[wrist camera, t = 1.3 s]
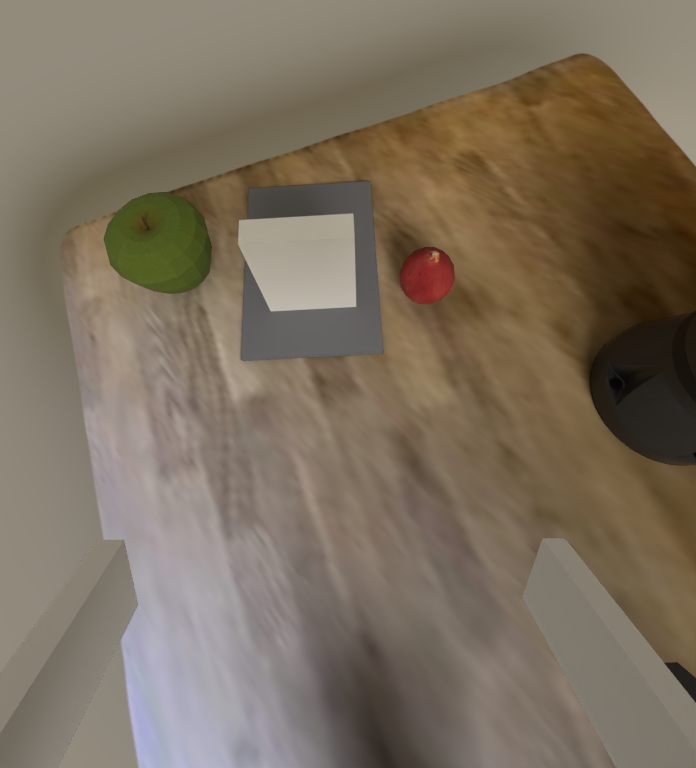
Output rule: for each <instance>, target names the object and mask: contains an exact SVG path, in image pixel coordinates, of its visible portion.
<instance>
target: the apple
mask: <svg viewBox="0 0 696 768" xmlns="http://www.w3.org/2000/svg"><path fill="white" fill-rule="evenodd" d="M104 242H105V246H106V250H107V254H108V257H109V261H110V265H111V266H112V267H113V268H114V269H115V270H116V271H117V272H118V273H119V274H120V275H121V277H123V278H125V279H127V280H129V281H131V282H133V283H135V284H137V285H140V286H142V287H145V288H147V289H150V290H153V291H157V292H163V293H168V294H171V293H183V292H186V291H189V290H192V289H194V288H195V287H196V286H198V285H199V284H201V283H202V282H203V281H204V279H205V278H206V276H207V275H208V273H209V269H210V259H211V248H212V246H211V242H210V239H209V235H208V232H207V228H206V224H205V221H204V217H203V215H202V214H201V213H200V212H199V211H198V210H197V209H196V208H195V207H194V206H193V205H192V204H191V203H189V202H188V201H186V200H185V199H183V198H182V197H179V196H176V195H173V194H170V193H168V192H159V193H148V194H146V195H143V196H140V197H138V198H135V199H132V200H131V201H130V202H128V203H127V204H126V205H125V206H123V207H122V208H121V209H120V210H119V211H118V212H117V213H116V214H115V216H114V217H113V218H112V220H111V221H110V222H109V224H108V226H107V229H106V233H105V236H104Z"/></svg>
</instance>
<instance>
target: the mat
mask: <svg viewBox="0 0 696 768" xmlns="http://www.w3.org/2000/svg"><path fill="white" fill-rule="evenodd" d="M352 213H353V217H354V235H355V274H356V307H345V308H326V309H308V310H289V311H270V309H269V307H268V305H267V303H266V301H265V299H264V297H263V294H262V292H261V290H260V288H259V286H258V284H257V282H256V280H255V278H254V276H253V274H252V272H251V270H250V268H249V266H248V264H247V262H246V260H245V281H244V302H243V324H242V345H241V360H242V361H250V360H269V359H289V358H308V357H328V356H347V355H367V354H383V342H382V329H381V316H380V302H379V289H378V276H377V262H376V249H375V236H374V222H373V209H372V196H371V183H370V181H361V182H345V183H328V184H312V185H295V186H279V187H262V188H249V194H248V216H247V220H250V219H267V218H284V217H301V216H318V215H335V214H352Z"/></svg>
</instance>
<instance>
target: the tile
mask: <svg viewBox="0 0 696 768" xmlns="http://www.w3.org/2000/svg"><path fill="white" fill-rule="evenodd" d="M238 245H239V247H240V249H241V252H242V254H243V256H244V258H245V260H246V262H247V264H248V266H249V268H250V270H251V272H252V274H253V276H254V278H255V280H256V282H257V284H258V286H259V288H260V290H261V292H262V294H263V297H264V299H265V301H266V303H267V305H268V307H269V309H270V311H289V310H308V309H326V308H345V307H356V274H355V235H354V217H353V213H352V214H335V215H318V216H301V217H284V218H267V219H250V220H239V234H238Z"/></svg>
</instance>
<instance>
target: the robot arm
mask: <svg viewBox="0 0 696 768" xmlns="http://www.w3.org/2000/svg"><path fill="white" fill-rule="evenodd" d="M591 390H592V395H593V399H594V403H595V405H596V408H597V410H598V412H599V414H600V416H601V418H602V419H603V421H604V422H605V424H606V425H607V427H608V428H609V429H610V430H611V431H612V433H613V434H614V435H615V436H616V437H617V438H618V439H619V440H620V441H622V442H623V443H624V444H625V445H627V446H628V447H629V448H631V449H632V450H634V451H635V452H637V453H639V454H641V455H643V456H645V457H647V458H649V459H652V460H654V461H657V462H661V463H665V464H670V465H680V466H687V465H696V311H695V312H693V313H688V314H683V315H678V316H673V317H668V318H663V319H658V320H653V321H648V322H644V323H641V324H638V325H635V326H633V327H631V328H629V329H627V330H625V331H624V332H622V333H621V334H619V335H617V336H616V337H614V338H613V339H611V340H610V341H609V342H608V343H606V344H605V345H604V347H603V348H602V349H601V350H600V352H599V353H598V355H597V357H596V359H595V361H594V364H593V367H592V372H591ZM522 598H523V600H524V601H525V603H526V605H527V607H528V609H529V611H530V612H531V614H532V616H533V618H534V620H535V621H536V623H537V625H538V627H539V629H540V630H541V632H542V634H543V636H544V638H545V640H546V641H547V643H548V645H549V647H550V649H551V650H552V652H553V654H554V656H555V658H556V659H557V661H558V663H559V665H560V667H561V669H562V670H563V672H564V674H565V676H566V678H567V679H568V681H569V683H570V685H571V687H572V688H573V690H574V692H575V694H576V696H577V698H578V699H579V701H580V703H581V705H582V707H583V708H584V710H585V712H586V714H587V716H588V717H589V719H590V721H591V723H592V725H593V727H594V728H595V730H596V732H597V734H598V736H599V737H600V739H601V741H602V743H603V745H604V747H605V748H606V750H607V752H608V754H609V756H610V757H611V759H612V761H613V763H614V765H615V766H616V768H696V678H695V677H694V676H693V675H692V674H690V673H689V672H688V671H687V670H686V669H684V668H683V667H682V666H681V665H680V664H679V663H677V662H675V663H664V662H663V661H662V660H661V659H660V657H659V656H658V655H657V654H656V652H655V651H654V650H653V649H652V647H651V646H650V645H649V644H648V642H647V641H646V640H645V639H644V637H643V636H642V635H641V634H640V632H639V631H638V630H637V628H636V627H635V626H634V625H633V623H632V622H631V621H630V620H629V618H628V617H627V616H626V615H625V613H624V612H623V611H622V610H621V608H620V607H619V606H618V605H617V603H616V602H615V601H614V600H613V598H612V597H611V596H610V595H609V593H608V592H607V591H606V590H605V588H604V587H603V586H602V585H601V583H600V582H599V581H598V580H597V578H596V577H595V576H594V575H593V573H592V572H591V571H590V569H589V568H588V567H587V566H586V564H585V563H584V562H583V561H582V559H581V558H580V557H579V556H578V554H577V553H576V552H575V551H574V549H573V548H572V547H571V546H570V544H569V543H568V542H567V541H566V539H565V538H543V539H542V542H541V545H540V548H539V551H538V554H537V557H536V559H535V562H534V565H533V568H532V571H531V574H530V577H529V580H528V583H527V585H526V588H525V591H524V594H523V597H522ZM137 606H138V602H137V597H136V592H135V588H134V583H133V578H132V574H131V569H130V565H129V560H128V555H127V551H126V546H125V542H124V540H97V541H96V542H95V544H94V545H93V546H92V547H91V549H90V550H89V552H88V553H87V554H86V556H85V557H84V558H83V560H82V561H81V563H80V564H79V565H78V567H77V568H76V570H75V571H74V572H73V574H72V575H71V576H70V578H69V579H68V580H67V582H66V583H65V585H64V586H63V587H62V589H61V590H60V591H59V593H58V594H57V596H56V597H55V598H54V600H53V601H52V602H51V604H50V605H49V606H48V608H47V609H46V611H45V612H44V613H43V615H42V616H41V617H40V619H39V620H38V622H37V623H36V625H35V626H34V627H33V629H32V630H31V631H30V633H29V634H28V635H27V637H26V638H25V639H24V641H23V642H22V644H21V645H20V646H19V648H18V649H17V651H16V652H15V653H14V655H13V656H12V657H11V659H10V660H9V661H8V663H7V664H6V666H5V667H4V668H3V670H2V671H1V672H0V768H58V766H59V765H60V762H61V760H62V758H63V756H64V754H65V752H66V750H67V748H68V746H69V744H70V742H71V740H72V738H73V736H74V734H75V732H76V730H77V728H78V726H79V724H80V722H81V719H82V718H83V716H84V714H85V711H86V710H87V708H88V705H89V703H90V701H91V699H92V697H93V695H94V693H95V691H96V689H97V687H98V685H99V683H100V681H101V679H102V677H103V675H104V673H105V670H106V669H107V667H108V665H109V663H110V661H111V659H112V657H113V655H114V653H115V651H116V648H117V646H118V644H119V642H120V640H121V638H122V636H123V634H124V632H125V630H126V628H127V626H128V624H129V622H130V620H131V618H132V616H133V614H134V612H135V610H136V608H137Z"/></svg>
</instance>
